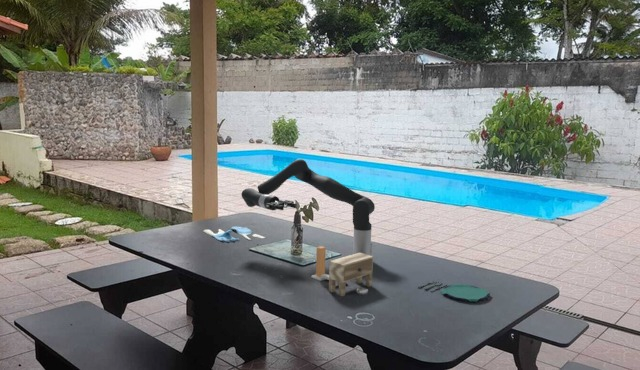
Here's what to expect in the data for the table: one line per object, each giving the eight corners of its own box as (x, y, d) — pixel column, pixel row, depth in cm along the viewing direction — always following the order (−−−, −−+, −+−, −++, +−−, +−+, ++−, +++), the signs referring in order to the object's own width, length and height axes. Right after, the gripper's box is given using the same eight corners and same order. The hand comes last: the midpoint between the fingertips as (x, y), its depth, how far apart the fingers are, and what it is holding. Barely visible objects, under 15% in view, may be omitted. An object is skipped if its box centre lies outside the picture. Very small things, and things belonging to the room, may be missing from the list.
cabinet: (328, 291, 239) (329, 260, 237) (358, 281, 253) (359, 252, 251) (344, 297, 232) (345, 265, 230) (374, 286, 246) (375, 257, 244)
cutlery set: (476, 307, 225) (476, 302, 224) (414, 290, 244) (414, 285, 244) (496, 295, 240) (496, 290, 239) (436, 280, 259) (436, 276, 259)
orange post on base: (310, 277, 256) (310, 247, 254) (321, 274, 262) (322, 244, 259) (334, 286, 245) (334, 254, 243) (346, 282, 250) (347, 251, 248)
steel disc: (362, 290, 242) (362, 286, 241) (370, 293, 238) (370, 289, 238) (354, 292, 239) (354, 288, 238) (361, 296, 235) (362, 292, 235)
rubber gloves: (242, 227, 354) (242, 218, 353) (266, 239, 327) (266, 228, 326) (203, 232, 339) (203, 222, 338) (224, 245, 312) (224, 234, 311)
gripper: (258, 196, 277) (278, 201, 265) (279, 193, 287) (300, 198, 275) (258, 210, 278) (278, 216, 267) (279, 207, 288) (299, 212, 277)
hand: (289, 207), depth 271 cm, fingers open, 8 cm apart
